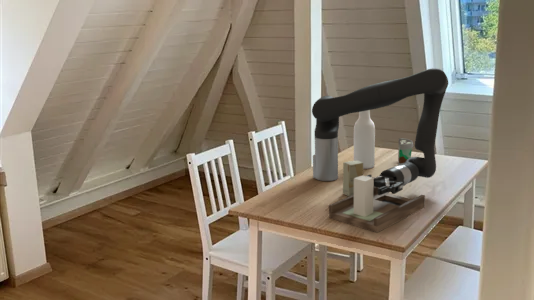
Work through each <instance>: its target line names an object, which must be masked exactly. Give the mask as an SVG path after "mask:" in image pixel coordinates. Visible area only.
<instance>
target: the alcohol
mask: <svg viewBox="0 0 534 300" xmlns="http://www.w3.org/2000/svg"><path fill="white" fill-rule="evenodd" d="M375 136H376V126H375V123H374V121H373V120H372V119H371V110H367V111H362V112H358V119H356V121H355V123H354V125H353V161H355V160H357V161H360V162H362V163H363V170H369V169H372V168H374V166H375V159H376V158H375V157H376V156H375V154H376V151H375V149H376V148H375V147H376V145H375V144H376V142H375V141H376V140H375V139H376V137H375Z"/></svg>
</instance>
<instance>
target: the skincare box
mask: <svg viewBox="0 0 534 300" xmlns="http://www.w3.org/2000/svg"><path fill="white" fill-rule="evenodd" d="M342 168H343V169H342V194H343V195H344V196H347V197H349V196H352V195H354V178H356V177H359V176H362V175H363V176H364V169H363V163H362V162H360V161H357V160H355V161H354V160H349V161H344V162H343V166H342Z"/></svg>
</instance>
